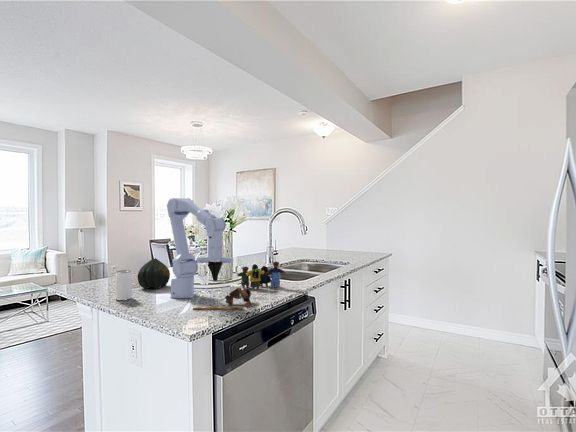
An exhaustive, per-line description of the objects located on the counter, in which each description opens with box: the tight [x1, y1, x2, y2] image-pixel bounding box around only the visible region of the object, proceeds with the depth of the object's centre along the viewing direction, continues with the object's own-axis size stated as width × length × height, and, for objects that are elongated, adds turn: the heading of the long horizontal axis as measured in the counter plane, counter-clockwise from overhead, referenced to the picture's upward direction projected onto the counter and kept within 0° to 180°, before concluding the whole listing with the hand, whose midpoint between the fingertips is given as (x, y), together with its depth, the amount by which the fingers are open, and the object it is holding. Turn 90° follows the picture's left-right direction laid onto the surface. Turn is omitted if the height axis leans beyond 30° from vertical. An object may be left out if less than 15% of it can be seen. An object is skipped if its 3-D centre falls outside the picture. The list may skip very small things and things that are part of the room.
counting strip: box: [192, 305, 244, 311], centre depth 126 cm, size 19×2×1 cm, turn 90°
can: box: [114, 269, 133, 301], centre depth 141 cm, size 6×6×12 cm
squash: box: [137, 257, 171, 290], centre depth 163 cm, size 14×15×15 cm
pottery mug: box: [224, 287, 252, 310], centre depth 131 cm, size 12×10×8 cm
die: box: [229, 283, 242, 296], centre depth 146 cm, size 5×5×5 cm
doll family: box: [236, 261, 287, 290], centre depth 161 cm, size 23×9×13 cm, turn 118°
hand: (215, 280), depth 134 cm, fingers closed
